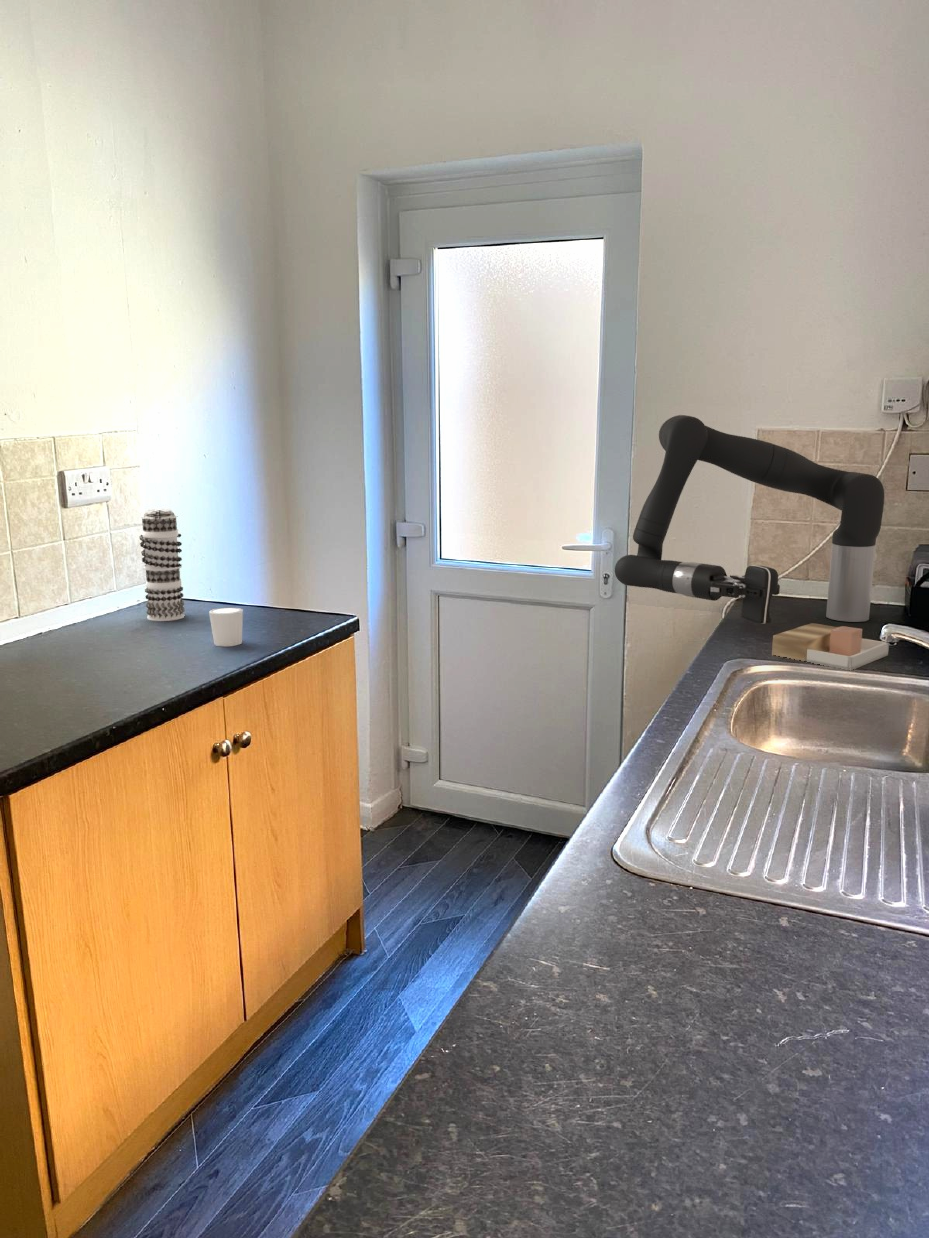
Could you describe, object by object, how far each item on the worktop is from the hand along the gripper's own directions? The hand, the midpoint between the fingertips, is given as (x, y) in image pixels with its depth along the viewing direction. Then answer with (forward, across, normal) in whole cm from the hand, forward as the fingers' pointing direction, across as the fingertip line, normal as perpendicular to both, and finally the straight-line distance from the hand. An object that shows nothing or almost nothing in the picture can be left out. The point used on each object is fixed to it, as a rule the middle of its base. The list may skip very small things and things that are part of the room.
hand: (771, 591), depth 195 cm
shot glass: (-79, -79, +12) cm, 112 cm away
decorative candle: (-112, -76, +12) cm, 136 cm away
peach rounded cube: (+14, 0, +8) cm, 16 cm away
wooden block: (+9, 0, +11) cm, 14 cm away
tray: (+17, 0, +11) cm, 20 cm away
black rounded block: (-3, 0, +7) cm, 7 cm away
